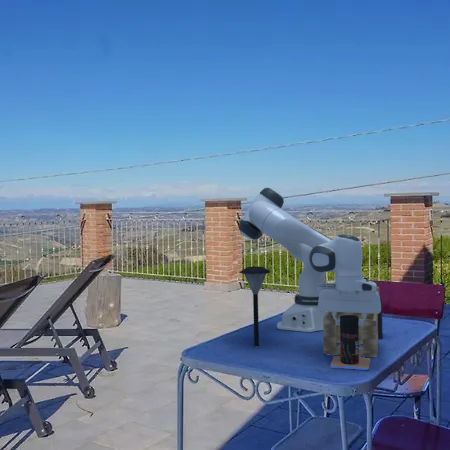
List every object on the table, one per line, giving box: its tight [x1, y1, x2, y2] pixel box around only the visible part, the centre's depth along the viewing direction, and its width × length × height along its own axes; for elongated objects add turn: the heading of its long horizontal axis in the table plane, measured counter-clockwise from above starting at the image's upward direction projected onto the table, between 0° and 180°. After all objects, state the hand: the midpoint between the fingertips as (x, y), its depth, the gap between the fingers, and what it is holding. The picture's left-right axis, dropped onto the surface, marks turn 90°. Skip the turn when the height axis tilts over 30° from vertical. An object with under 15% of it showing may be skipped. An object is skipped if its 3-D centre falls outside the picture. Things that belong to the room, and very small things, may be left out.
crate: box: [322, 312, 379, 358], centre depth 189 cm, size 18×18×13 cm
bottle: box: [376, 286, 384, 340], centre depth 206 cm, size 7×7×20 cm
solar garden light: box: [238, 266, 272, 347], centre depth 197 cm, size 12×12×30 cm
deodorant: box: [339, 315, 360, 365], centre depth 171 cm, size 6×6×15 cm
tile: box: [329, 355, 371, 370], centre depth 172 cm, size 12×12×1 cm
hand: (349, 325), depth 171 cm, fingers closed on deodorant, 6 cm apart
